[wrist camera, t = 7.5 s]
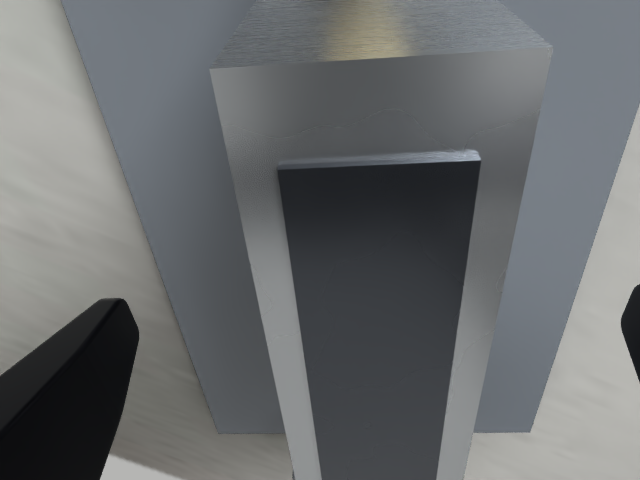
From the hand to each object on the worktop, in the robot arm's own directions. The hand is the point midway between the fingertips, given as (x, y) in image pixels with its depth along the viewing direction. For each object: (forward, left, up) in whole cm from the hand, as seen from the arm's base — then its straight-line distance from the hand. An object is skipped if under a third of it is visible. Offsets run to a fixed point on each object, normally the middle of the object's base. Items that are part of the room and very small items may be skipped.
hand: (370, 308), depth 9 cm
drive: (0, 0, -4) cm, 4 cm away
